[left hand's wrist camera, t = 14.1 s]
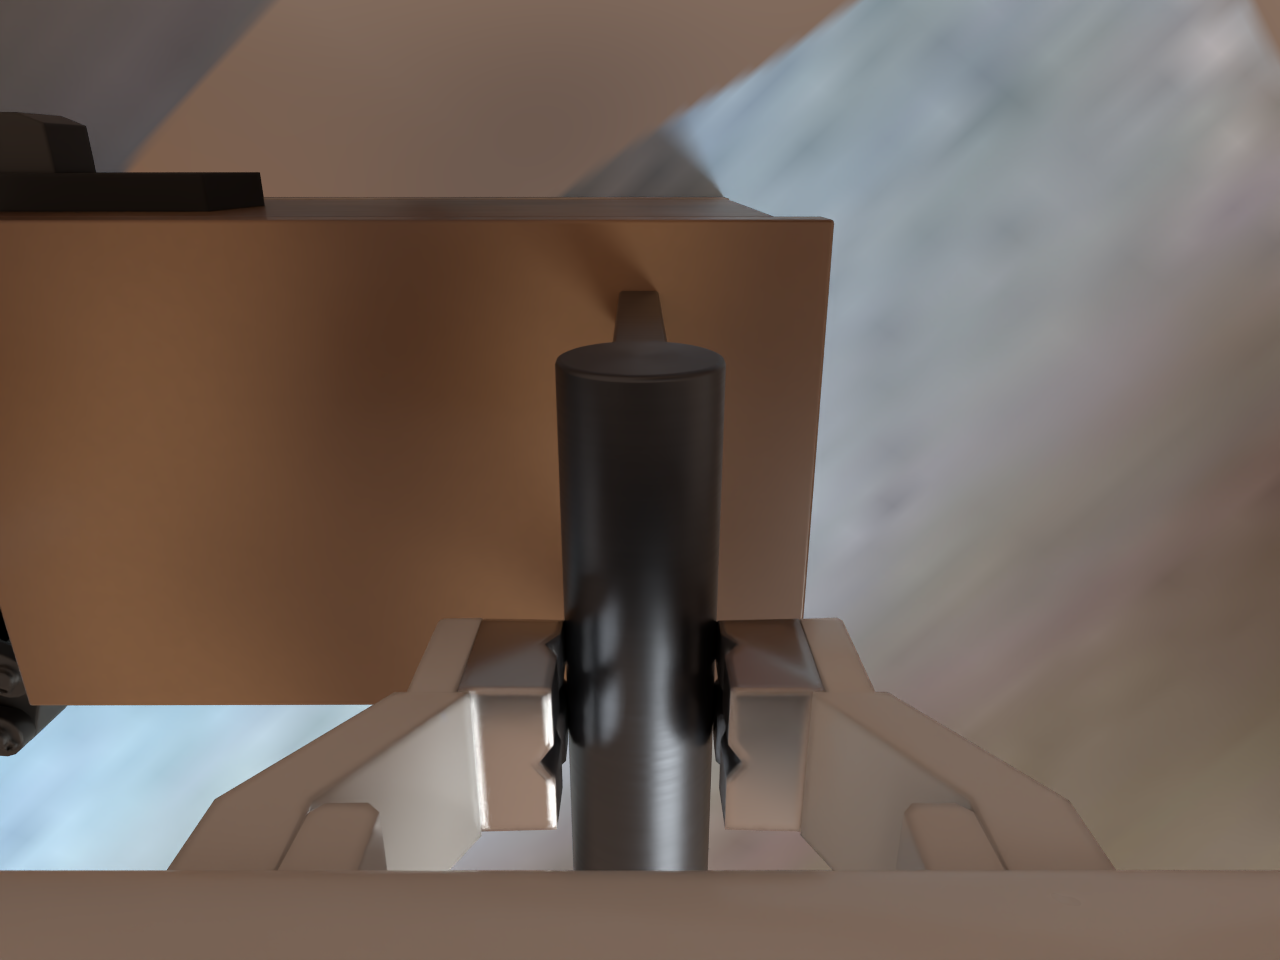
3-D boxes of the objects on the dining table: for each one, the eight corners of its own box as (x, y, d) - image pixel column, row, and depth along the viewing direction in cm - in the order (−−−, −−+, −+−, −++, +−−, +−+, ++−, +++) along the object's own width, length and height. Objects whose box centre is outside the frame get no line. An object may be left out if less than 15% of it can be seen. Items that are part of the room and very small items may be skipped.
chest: (724, 197, 24) (777, 216, 15) (714, 509, 28) (751, 678, 19) (194, 197, 24) (-74, 216, 15) (250, 509, 28) (58, 679, 19)
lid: (823, 216, 15) (1005, 265, 8) (789, 678, 19) (891, 1022, 11) (-76, 217, 15) (-775, 268, 8) (57, 680, 19) (-333, 1028, 11)
